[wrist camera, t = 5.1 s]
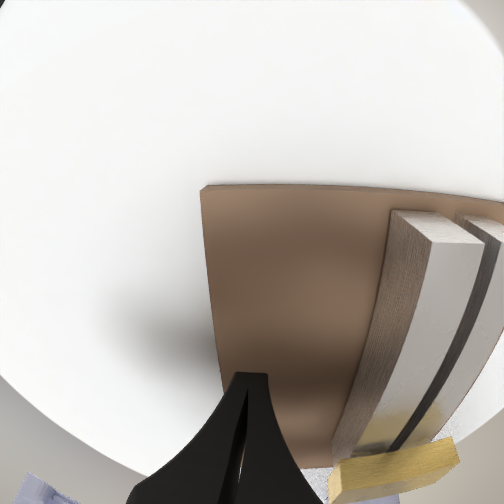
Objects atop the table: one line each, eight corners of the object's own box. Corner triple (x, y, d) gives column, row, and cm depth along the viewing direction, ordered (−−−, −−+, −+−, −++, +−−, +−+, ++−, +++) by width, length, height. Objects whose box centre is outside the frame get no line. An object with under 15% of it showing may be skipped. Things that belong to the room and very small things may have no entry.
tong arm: (360, 439, 14) (365, 476, 12) (331, 441, 15) (334, 480, 12) (438, 212, 8) (485, 243, 6) (391, 209, 9) (432, 241, 6)
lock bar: (428, 460, 10) (434, 483, 9) (327, 478, 11) (328, 505, 9) (451, 436, 9) (459, 461, 8) (339, 459, 10) (341, 491, 8)
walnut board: (419, 442, 17) (421, 451, 16) (238, 457, 18) (237, 466, 18) (528, 207, 9) (540, 213, 8) (206, 185, 10) (199, 191, 9)
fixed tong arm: (384, 451, 16) (390, 487, 12) (330, 458, 16) (332, 496, 13) (487, 216, 8) (541, 249, 5) (404, 208, 9) (455, 247, 6)
